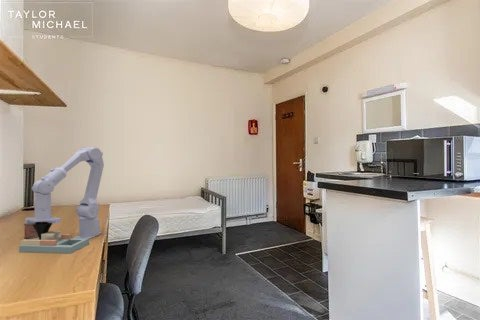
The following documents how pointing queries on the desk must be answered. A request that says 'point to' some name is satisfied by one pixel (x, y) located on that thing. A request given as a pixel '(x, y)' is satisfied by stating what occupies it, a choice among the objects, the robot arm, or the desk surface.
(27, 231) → the lighter
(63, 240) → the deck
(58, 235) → the block
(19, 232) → the desk surface
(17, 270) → the desk surface
